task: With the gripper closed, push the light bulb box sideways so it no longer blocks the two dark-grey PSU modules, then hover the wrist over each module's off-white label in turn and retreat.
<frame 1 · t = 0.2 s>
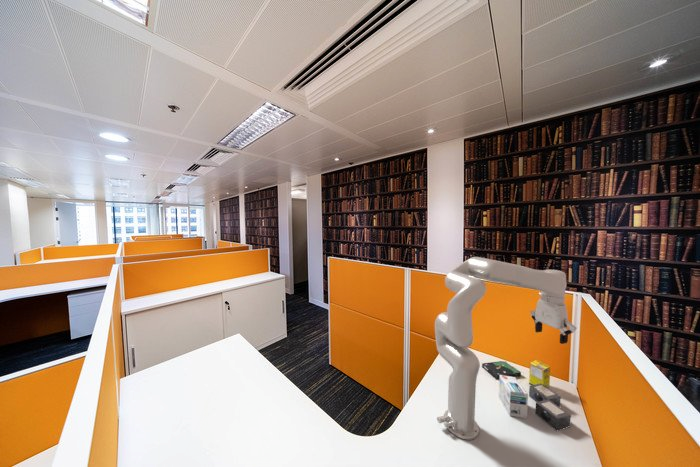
hand: (550, 337, 98), 31 cm above the table, fingers open, 9 cm apart
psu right: (544, 401, 102), on the table
light bulb box: (511, 407, 98), on the table
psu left: (552, 420, 92), on the table
disk drive: (500, 372, 122), on the table
supplement box: (538, 386, 111), on the table
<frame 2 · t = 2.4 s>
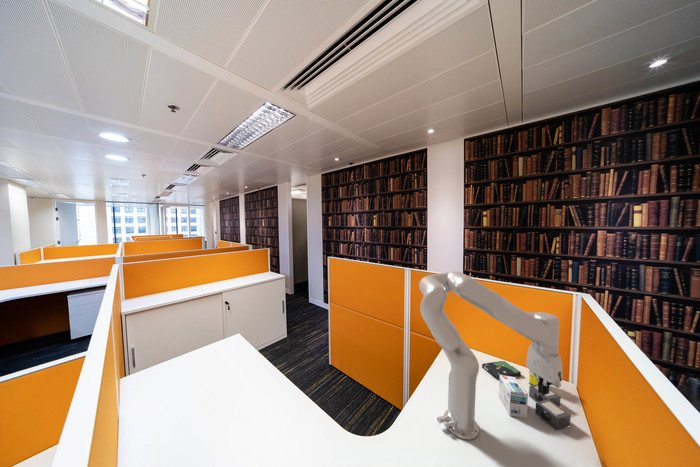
hand: (543, 392, 86), 16 cm above the table, fingers closed
nothing on the table moved.
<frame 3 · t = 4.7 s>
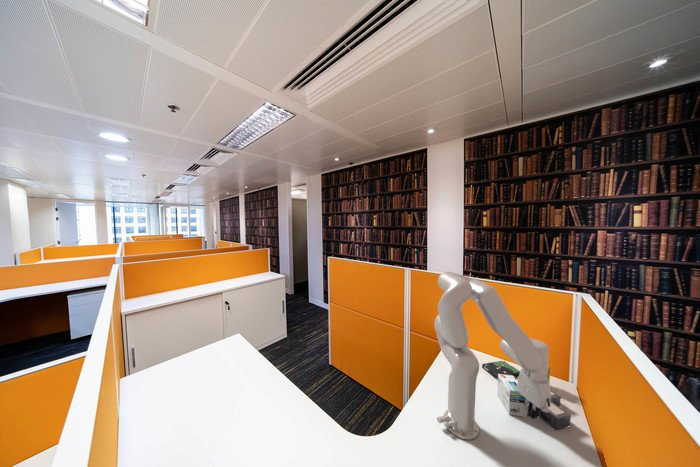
hand: (532, 416, 90), 3 cm above the table, fingers closed
light bulb box: (510, 406, 99), on the table, touching gripper
everything else where it was.
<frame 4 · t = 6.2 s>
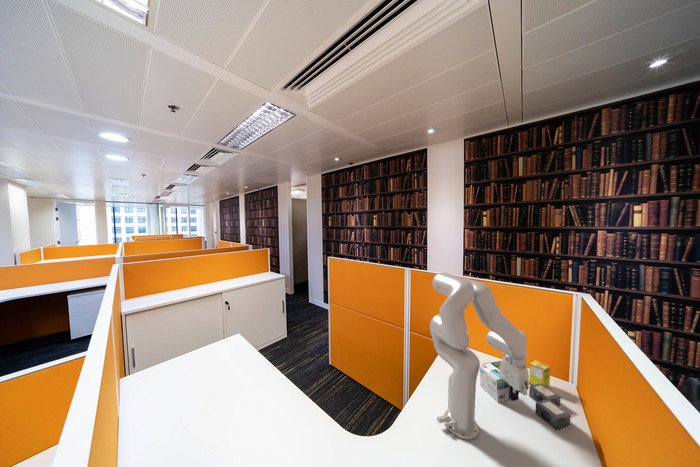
hand: (513, 399, 98), 4 cm above the table, fingers closed
light bulb box: (494, 392, 107), on the table, touching gripper
everything else where it was.
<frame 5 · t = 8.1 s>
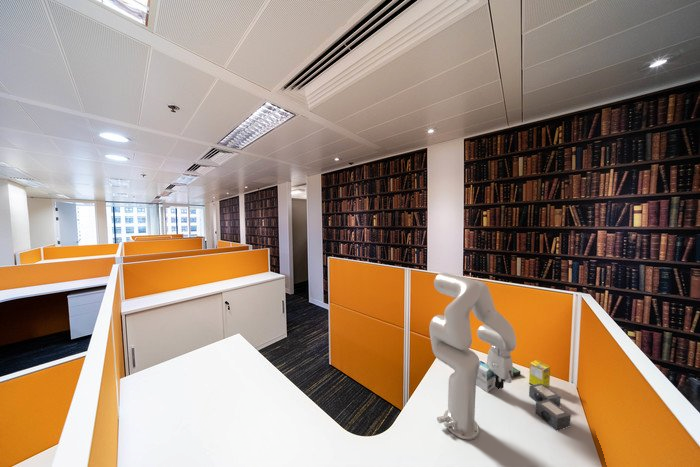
hand: (499, 387, 105), 4 cm above the table, fingers closed
light bulb box: (480, 382, 113), on the table, touching gripper
everything else where it was.
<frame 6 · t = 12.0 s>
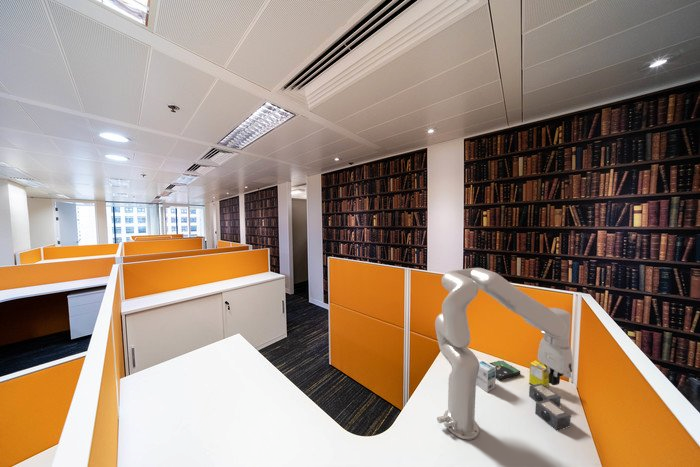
hand: (553, 383, 92), 15 cm above the table, fingers closed
light bulb box: (480, 383, 113), on the table
everything else where it was.
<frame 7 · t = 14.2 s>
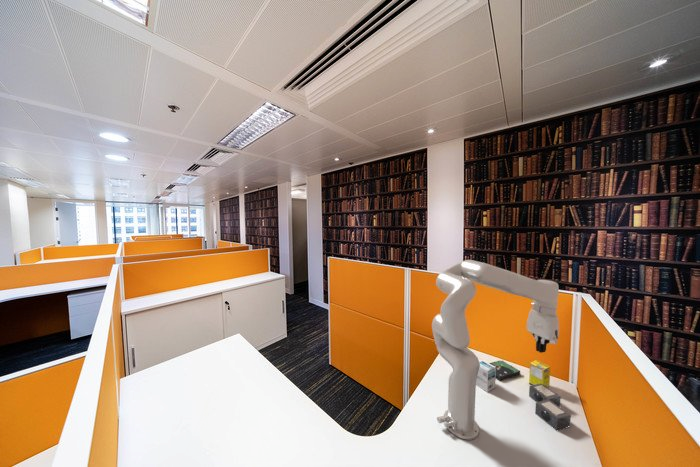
hand: (540, 351, 97), 25 cm above the table, fingers closed
nothing on the table moved.
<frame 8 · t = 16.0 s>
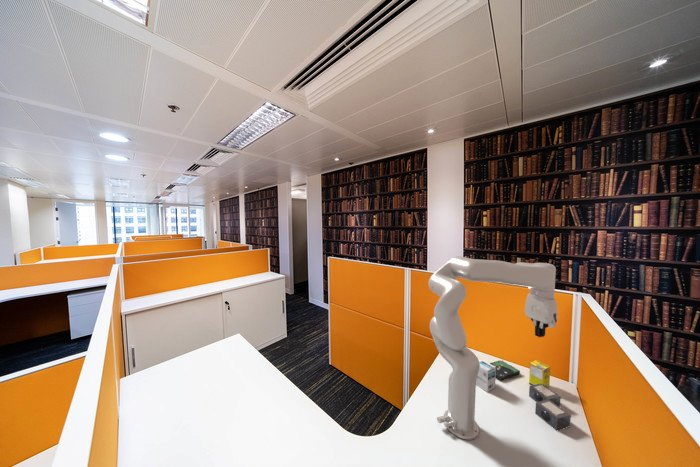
hand: (539, 335, 95), 33 cm above the table, fingers closed
nothing on the table moved.
at the end: light bulb box moved 15.4 cm from its start; light bulb box inside the target area (2.7 cm from its centre), on the table; light bulb box tilted 0° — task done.
